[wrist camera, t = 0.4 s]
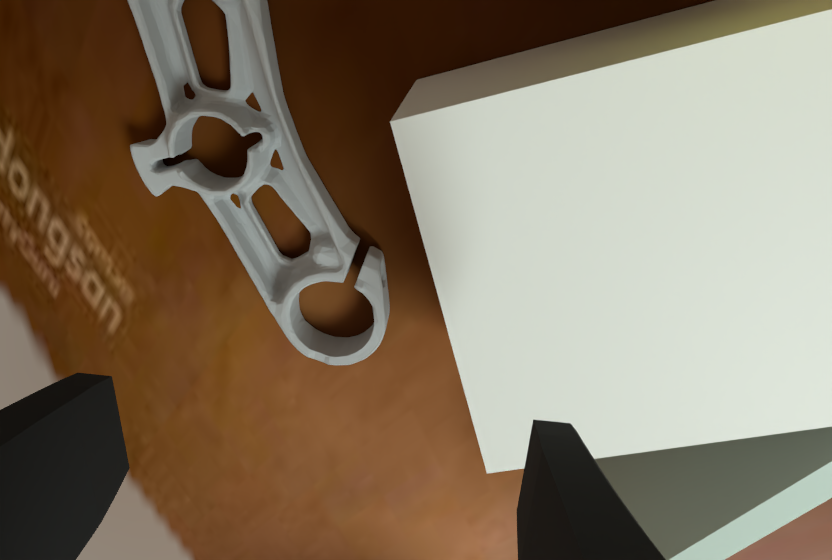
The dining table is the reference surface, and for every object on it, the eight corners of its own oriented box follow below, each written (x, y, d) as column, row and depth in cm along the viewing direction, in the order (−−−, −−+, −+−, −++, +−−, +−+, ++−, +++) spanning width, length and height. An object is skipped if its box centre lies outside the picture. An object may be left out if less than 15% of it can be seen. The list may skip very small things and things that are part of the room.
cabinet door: (835, 318, 18) (957, 428, 14) (584, 493, 22) (614, 625, 18) (811, 294, 18) (927, 399, 14) (562, 476, 22) (586, 606, 17)
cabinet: (799, 290, 19) (932, 412, 13) (483, 346, 20) (486, 473, 15) (800, -23, 15) (983, -30, 10) (416, 79, 17) (389, 121, 11)
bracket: (375, -199, 13) (384, 375, 19) (387, -176, 15) (392, 344, 21) (49, -194, 14) (161, 362, 20) (97, -172, 15) (186, 333, 22)
